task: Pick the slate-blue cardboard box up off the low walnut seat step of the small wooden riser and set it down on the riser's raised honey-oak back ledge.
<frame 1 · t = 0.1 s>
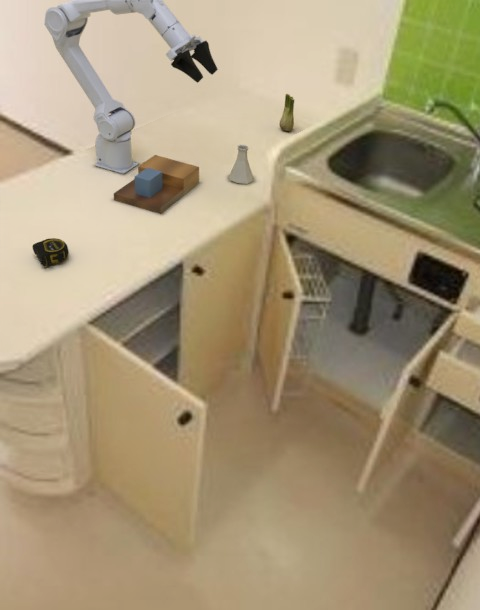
hand: (207, 76, 161), 32 cm above the countertop, tool tilted 50°, fingers open, 7 cm apart
blue box: (149, 191, 172), point 2 cm above the countertop, touching riser
flask: (241, 179, 189), on the countertop
riser: (159, 190, 177), on the countertop
tape measure: (50, 261, 145), on the countertop
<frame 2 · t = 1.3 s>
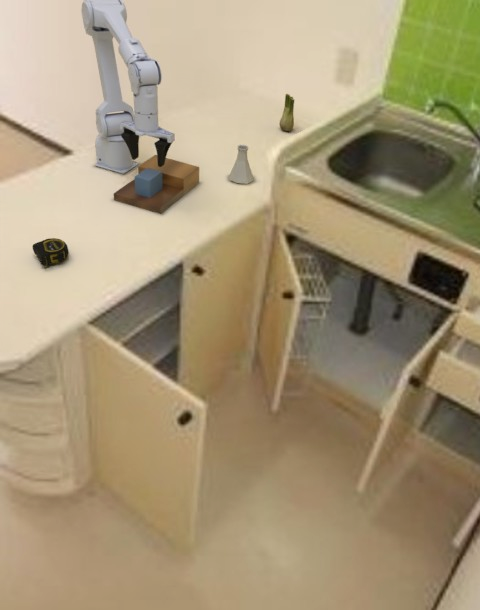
hand: (148, 161, 167), 10 cm above the countertop, tool pointing down, fingers open, 7 cm apart
nothing on the countertop moved.
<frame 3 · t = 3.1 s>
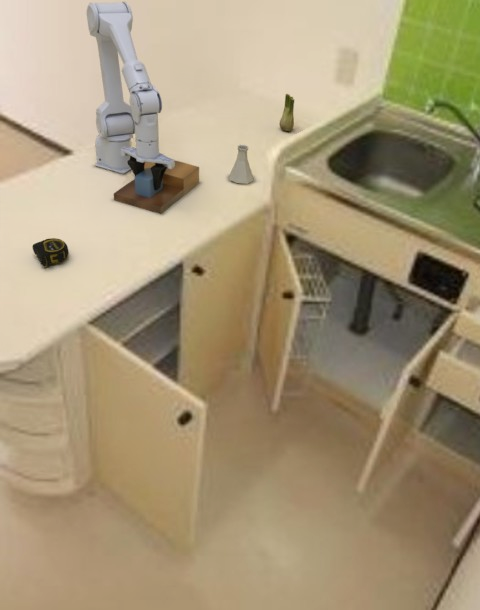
hand: (149, 186, 171), 3 cm above the countertop, tool pointing down, fingers closed on blue box, 4 cm apart
blue box: (149, 191, 172), point 2 cm above the countertop, touching gripper, riser
everything else where it was.
when the fingers open (6 cm above the countertop, at t = 6.9 s): blue box stays where it is, resting on riser.
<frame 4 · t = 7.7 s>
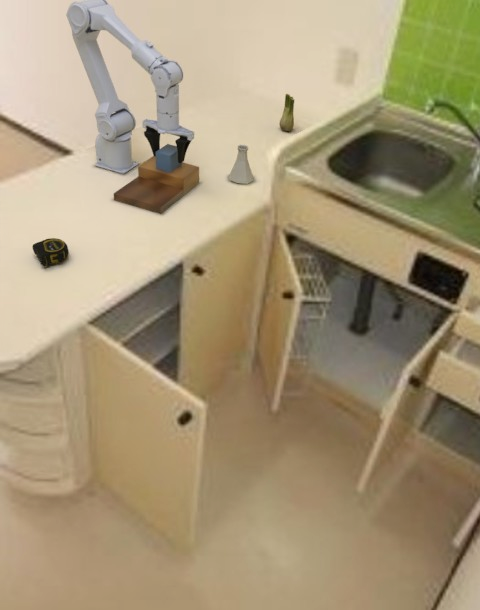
hand: (168, 158, 177), 7 cm above the countertop, tool pointing down, fingers open, 7 cm apart
blue box: (169, 166, 178), point 5 cm above the countertop, touching riser
everything else where it was.
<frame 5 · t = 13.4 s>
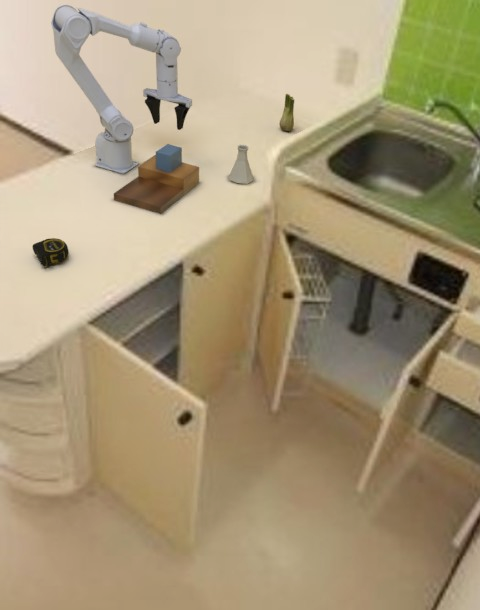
hand: (168, 125, 187), 10 cm above the countertop, tool pointing down, fingers open, 7 cm apart
nothing on the countertop moved.
at the end: blue box inside the target area on the riser (0.3 cm from its centre), point 5.0 cm above the riser's base; blue box tilted 0°; the gripper is holding nothing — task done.
